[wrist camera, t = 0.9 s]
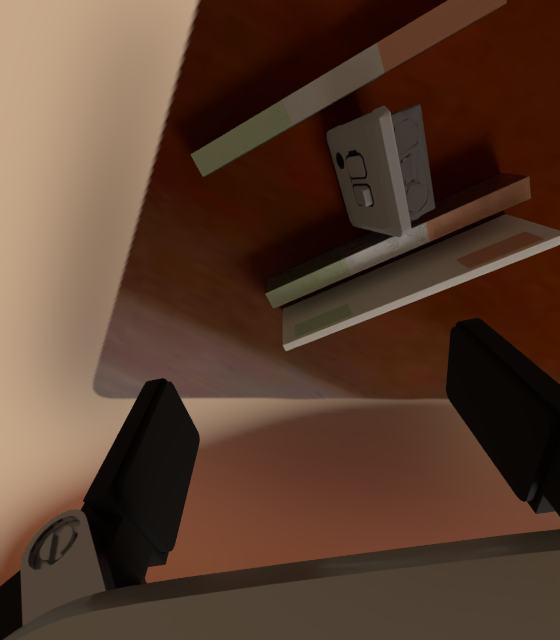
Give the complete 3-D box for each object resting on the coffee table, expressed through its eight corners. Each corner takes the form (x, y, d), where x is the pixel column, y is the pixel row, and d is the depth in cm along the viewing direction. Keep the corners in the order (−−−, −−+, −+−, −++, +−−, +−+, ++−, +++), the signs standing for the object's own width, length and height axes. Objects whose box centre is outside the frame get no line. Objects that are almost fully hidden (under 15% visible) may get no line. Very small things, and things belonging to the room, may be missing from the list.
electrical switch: (323, 131, 28) (352, 120, 20) (376, 107, 28) (427, 85, 20) (350, 226, 33) (382, 248, 25) (396, 206, 32) (445, 222, 24)
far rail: (500, 172, 30) (529, 176, 26) (502, 192, 31) (530, 198, 27) (267, 279, 36) (265, 293, 32) (274, 293, 37) (273, 308, 33)
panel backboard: (505, 212, 32) (567, 231, 25) (506, 221, 32) (567, 241, 25) (282, 307, 38) (282, 344, 31) (285, 313, 38) (286, 351, 31)
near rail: (479, -14, 23) (503, -34, 21) (482, 18, 24) (506, 2, 22) (198, 154, 29) (190, 154, 27) (210, 174, 30) (203, 176, 28)
